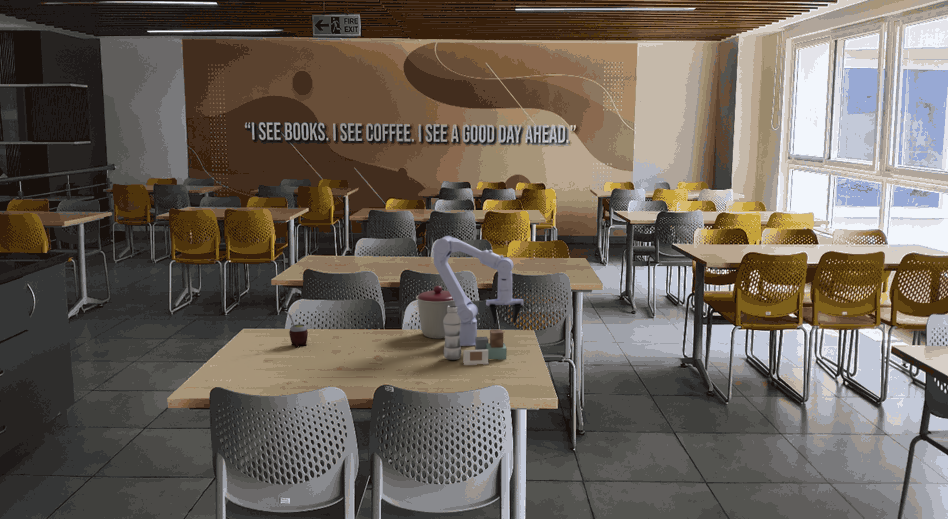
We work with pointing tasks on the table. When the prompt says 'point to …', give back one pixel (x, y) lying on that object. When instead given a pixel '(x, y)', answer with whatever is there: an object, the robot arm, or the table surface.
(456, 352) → the plastic bottle
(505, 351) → the base block
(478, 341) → the grey block
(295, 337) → the mate gourd
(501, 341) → the walnut block
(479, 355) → the card
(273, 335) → the table surface
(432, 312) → the canister
